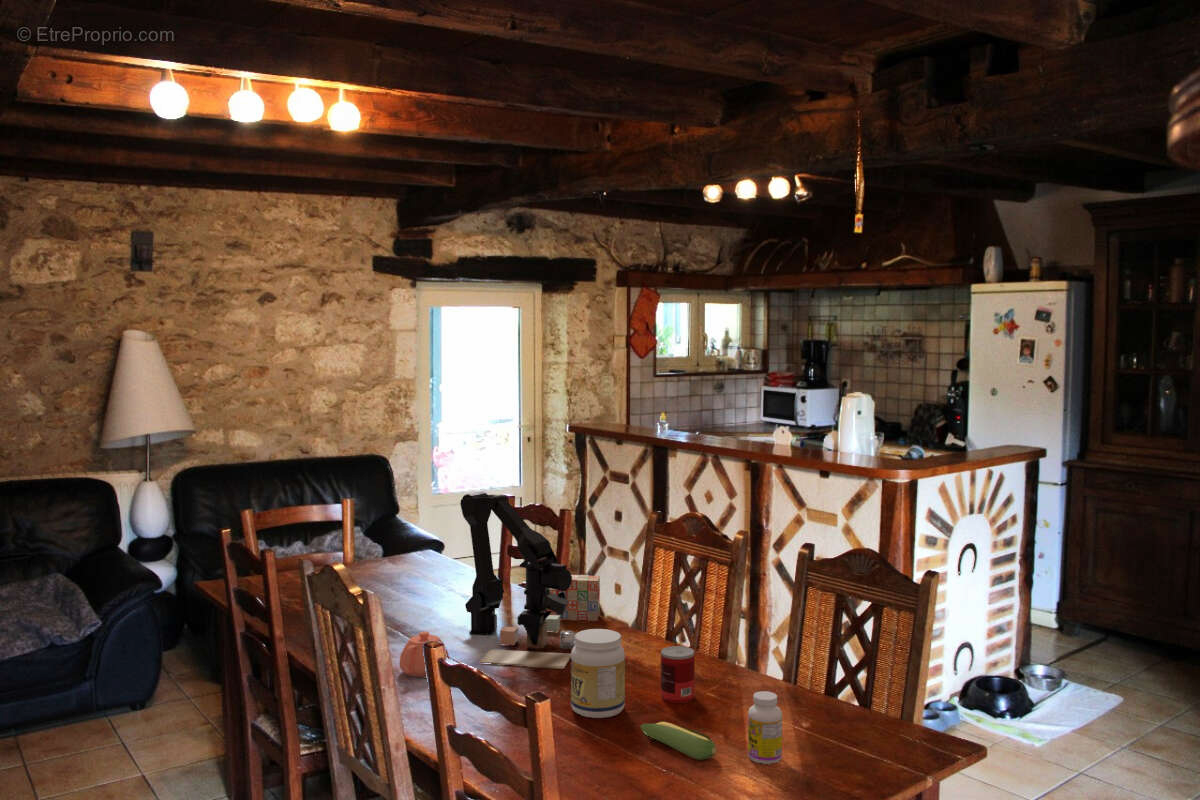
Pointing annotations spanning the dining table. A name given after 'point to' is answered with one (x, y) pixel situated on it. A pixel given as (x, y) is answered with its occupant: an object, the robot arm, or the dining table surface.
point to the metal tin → (567, 639)
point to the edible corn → (681, 739)
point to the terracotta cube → (509, 635)
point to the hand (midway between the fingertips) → (536, 641)
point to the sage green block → (553, 623)
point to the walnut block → (539, 637)
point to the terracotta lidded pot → (416, 654)
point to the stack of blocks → (581, 598)
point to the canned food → (677, 674)
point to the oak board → (527, 658)
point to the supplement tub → (597, 673)
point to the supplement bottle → (765, 729)
